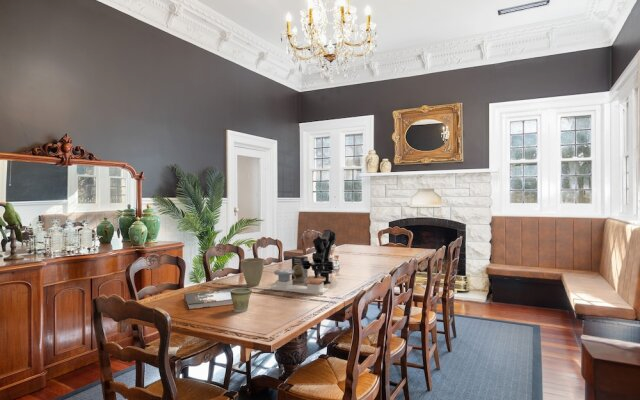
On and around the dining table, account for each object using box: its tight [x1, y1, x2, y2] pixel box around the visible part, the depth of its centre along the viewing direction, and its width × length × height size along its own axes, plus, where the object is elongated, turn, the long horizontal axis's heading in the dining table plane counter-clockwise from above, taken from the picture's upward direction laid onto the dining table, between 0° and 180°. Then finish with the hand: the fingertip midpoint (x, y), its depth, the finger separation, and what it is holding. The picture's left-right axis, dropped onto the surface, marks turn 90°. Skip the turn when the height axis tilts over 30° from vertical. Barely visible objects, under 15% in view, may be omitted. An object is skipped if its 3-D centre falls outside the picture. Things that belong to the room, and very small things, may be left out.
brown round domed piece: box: [305, 275, 326, 285], centre depth 238 cm, size 12×12×6 cm
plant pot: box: [240, 257, 266, 287], centre depth 257 cm, size 15×15×16 cm
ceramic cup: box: [229, 287, 253, 313], centre depth 202 cm, size 13×10×10 cm
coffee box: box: [291, 255, 309, 283], centre depth 268 cm, size 9×6×16 cm
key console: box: [270, 279, 330, 295], centre depth 242 cm, size 34×9×5 cm, turn 67°
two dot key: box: [273, 268, 294, 282], centre depth 246 cm, size 12×12×6 cm
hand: (315, 277), depth 239 cm, fingers closed, pressing on brown round domed piece
